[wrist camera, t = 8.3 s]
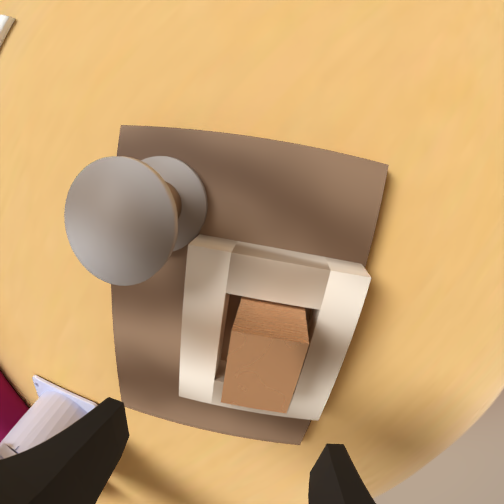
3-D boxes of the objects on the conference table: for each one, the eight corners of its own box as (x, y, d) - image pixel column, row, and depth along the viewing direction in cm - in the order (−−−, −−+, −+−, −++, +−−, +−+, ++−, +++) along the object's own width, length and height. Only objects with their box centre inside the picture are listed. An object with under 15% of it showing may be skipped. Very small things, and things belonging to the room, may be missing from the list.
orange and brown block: (287, 352, 17) (286, 413, 12) (236, 343, 17) (220, 402, 13) (302, 291, 16) (309, 344, 11) (246, 281, 16) (231, 330, 11)
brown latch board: (299, 435, 21) (299, 497, 15) (127, 397, 21) (95, 449, 16) (382, 164, 15) (433, 168, 9) (129, 126, 15) (63, 117, 10)
